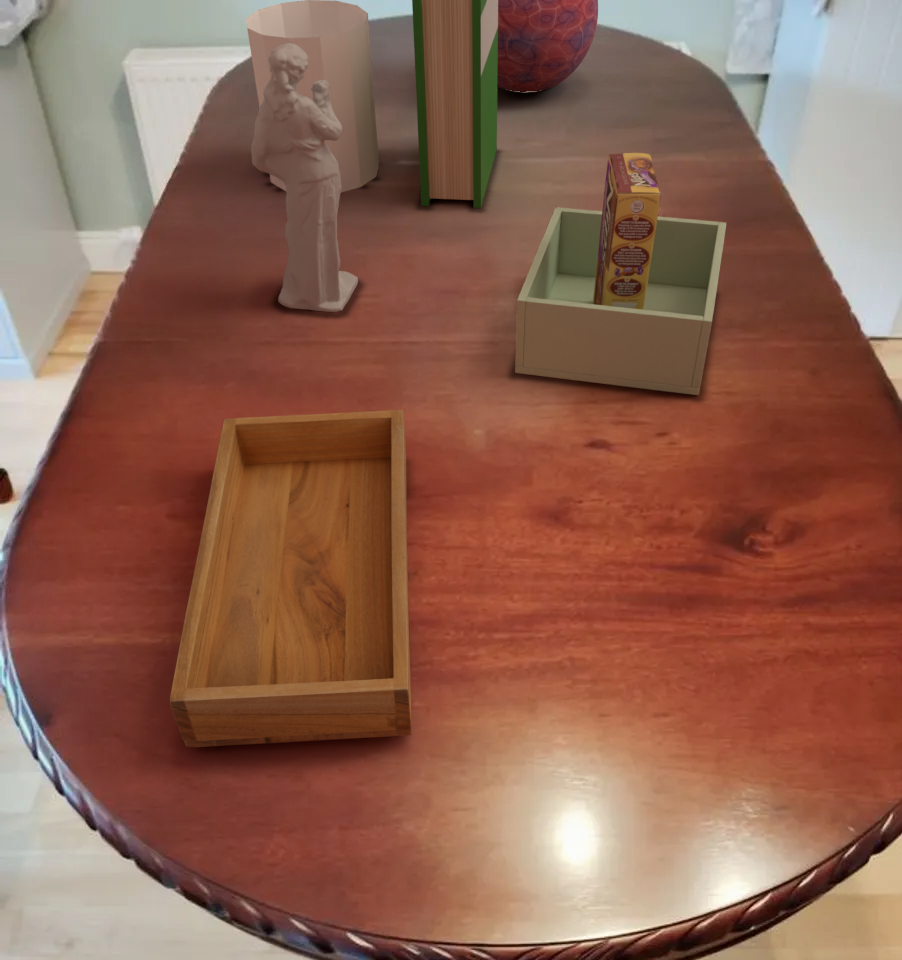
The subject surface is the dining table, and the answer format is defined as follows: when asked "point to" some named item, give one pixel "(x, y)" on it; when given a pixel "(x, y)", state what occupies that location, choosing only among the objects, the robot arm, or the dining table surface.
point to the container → (326, 73)
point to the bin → (616, 330)
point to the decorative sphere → (542, 41)
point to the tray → (300, 585)
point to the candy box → (627, 231)
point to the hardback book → (456, 96)
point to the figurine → (304, 181)
